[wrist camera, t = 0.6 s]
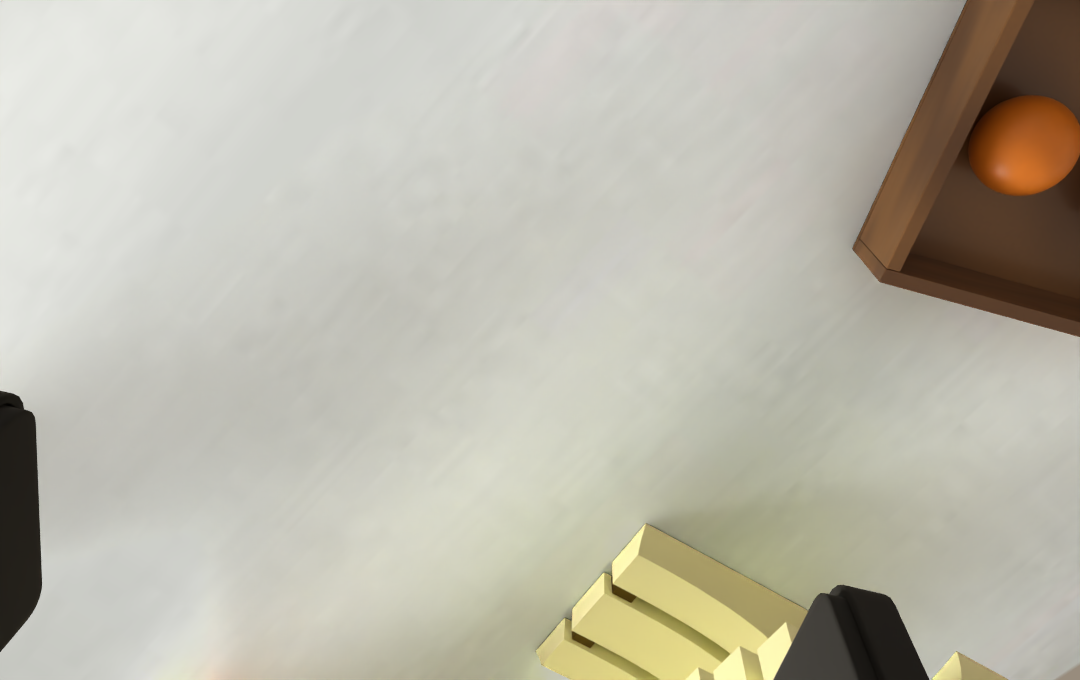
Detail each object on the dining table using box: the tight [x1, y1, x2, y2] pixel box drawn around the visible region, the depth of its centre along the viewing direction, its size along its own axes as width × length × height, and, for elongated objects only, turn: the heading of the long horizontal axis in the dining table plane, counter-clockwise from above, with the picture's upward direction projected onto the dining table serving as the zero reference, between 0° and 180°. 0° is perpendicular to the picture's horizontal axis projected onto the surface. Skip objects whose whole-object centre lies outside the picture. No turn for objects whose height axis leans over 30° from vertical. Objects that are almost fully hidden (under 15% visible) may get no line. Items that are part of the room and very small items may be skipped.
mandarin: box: [968, 95, 1080, 196], centre depth 37 cm, size 4×4×4 cm
